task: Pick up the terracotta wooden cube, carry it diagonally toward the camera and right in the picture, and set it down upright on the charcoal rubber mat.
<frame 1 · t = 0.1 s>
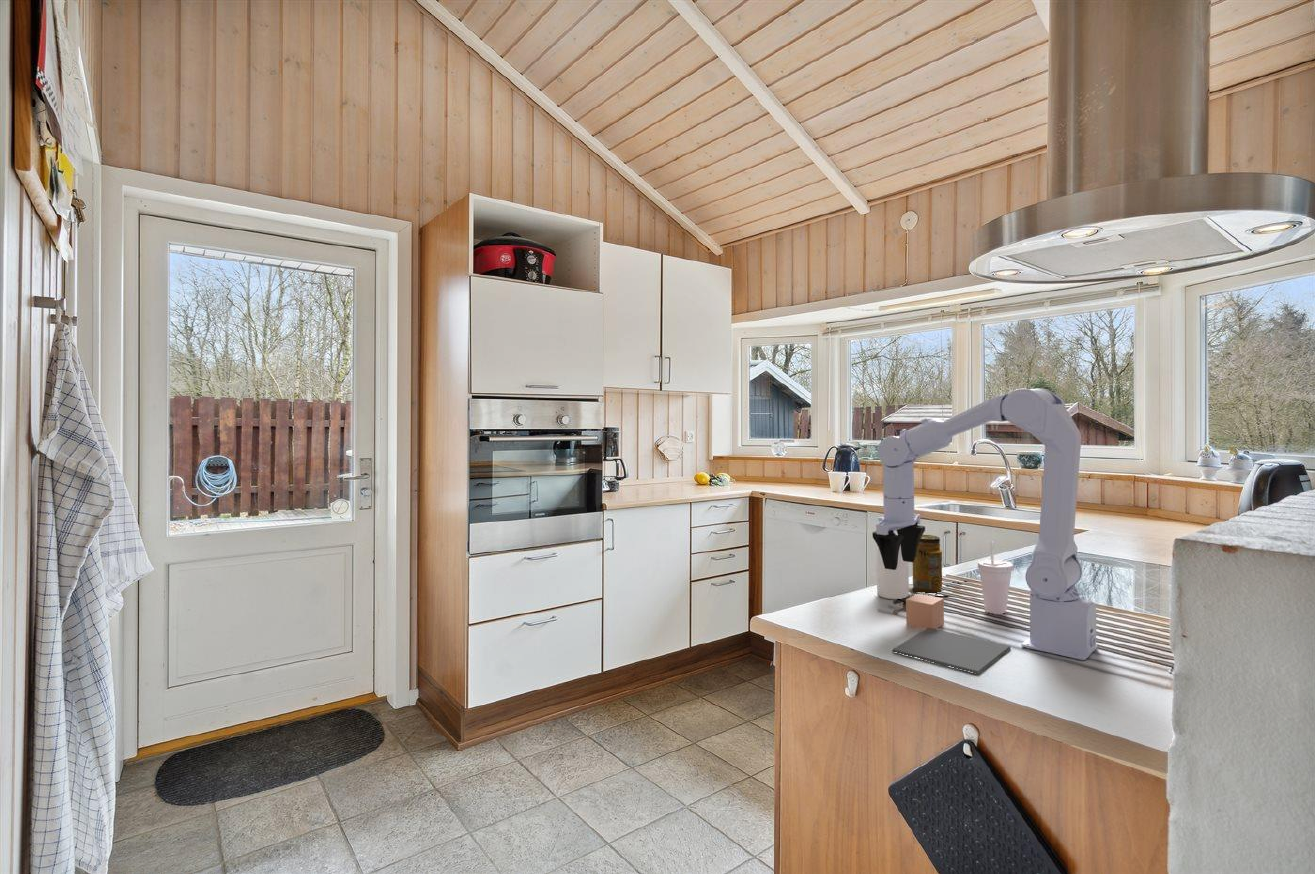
hand: (899, 565, 133), 10 cm above the counter, tool pointing down, fingers open, 7 cm apart
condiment: (927, 592, 149), on the counter
can: (892, 596, 146), on the counter
cube: (925, 624, 127), on the counter
smoothie: (995, 612, 134), on the counter
mat: (951, 650, 114), on the counter
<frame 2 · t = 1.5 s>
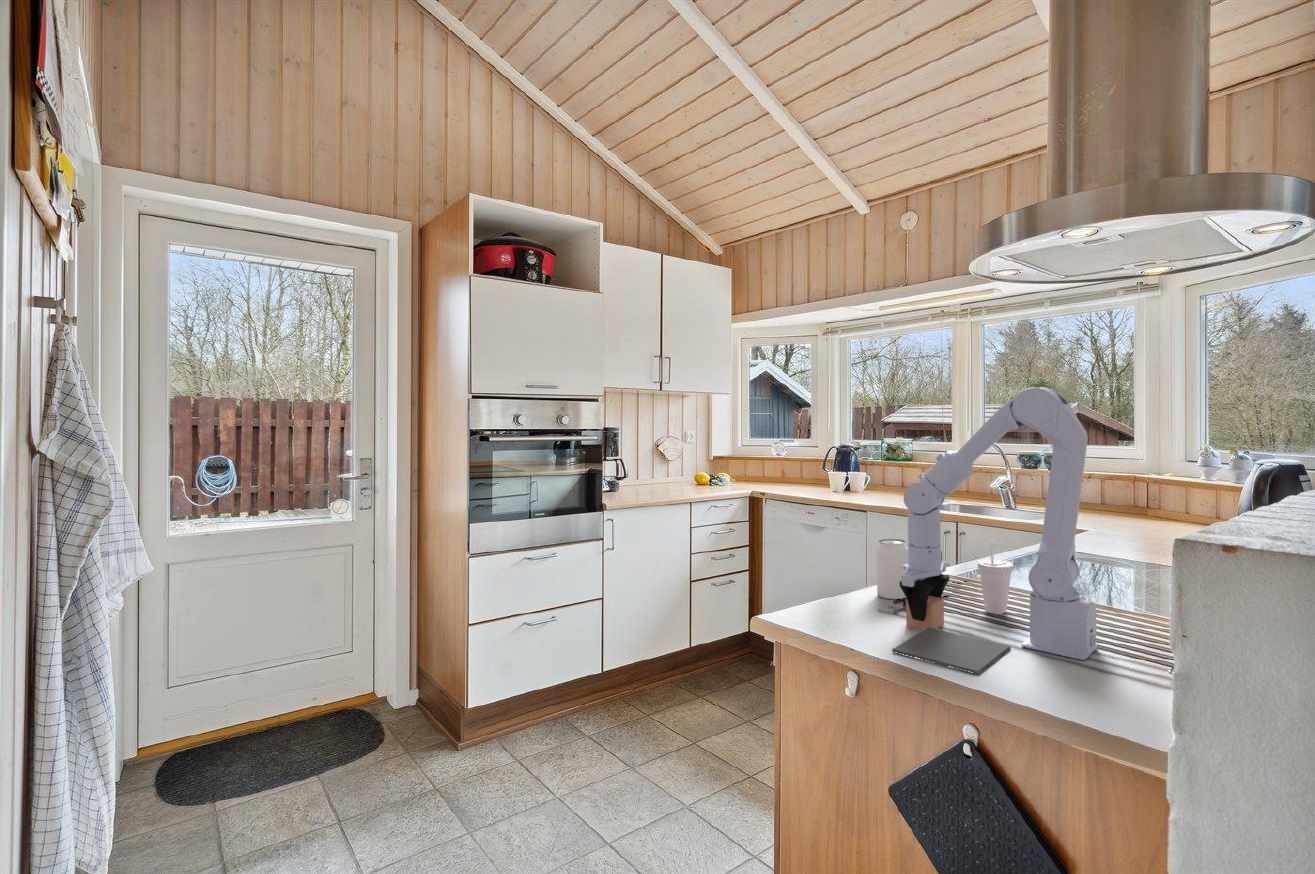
hand: (925, 615, 127), 2 cm above the counter, tool pointing down, fingers closed on cube, 5 cm apart
cube: (925, 624, 127), on the counter, touching gripper
everything else where it was.
when the fingers open (3 cm above the counter, at t = 6.0 s): cube stays where it is, resting on mat.
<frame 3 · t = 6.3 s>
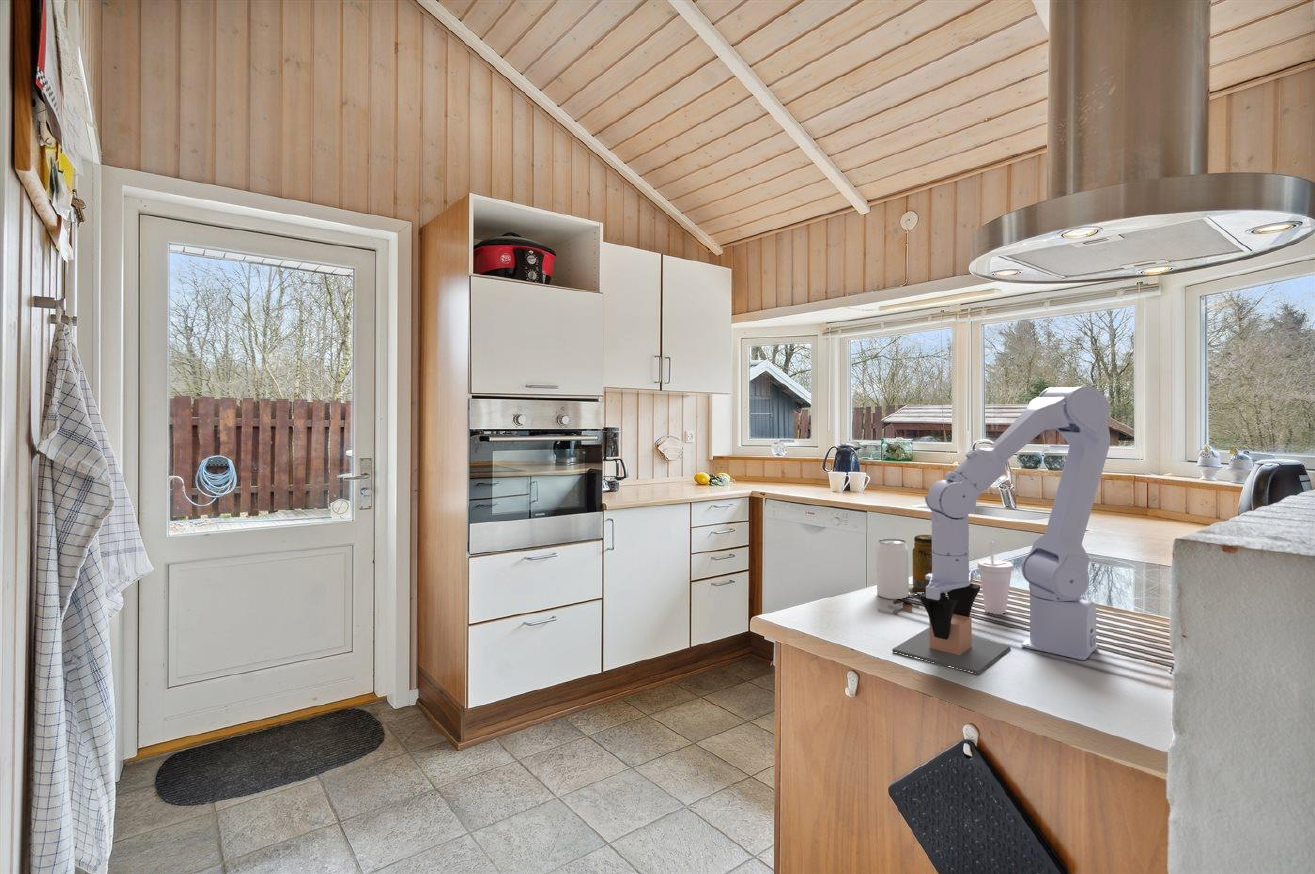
hand: (950, 631, 114), 3 cm above the counter, tool pointing down, fingers open, 7 cm apart
cube: (950, 647, 114), point 1 cm above the counter, touching mat
everything else where it was.
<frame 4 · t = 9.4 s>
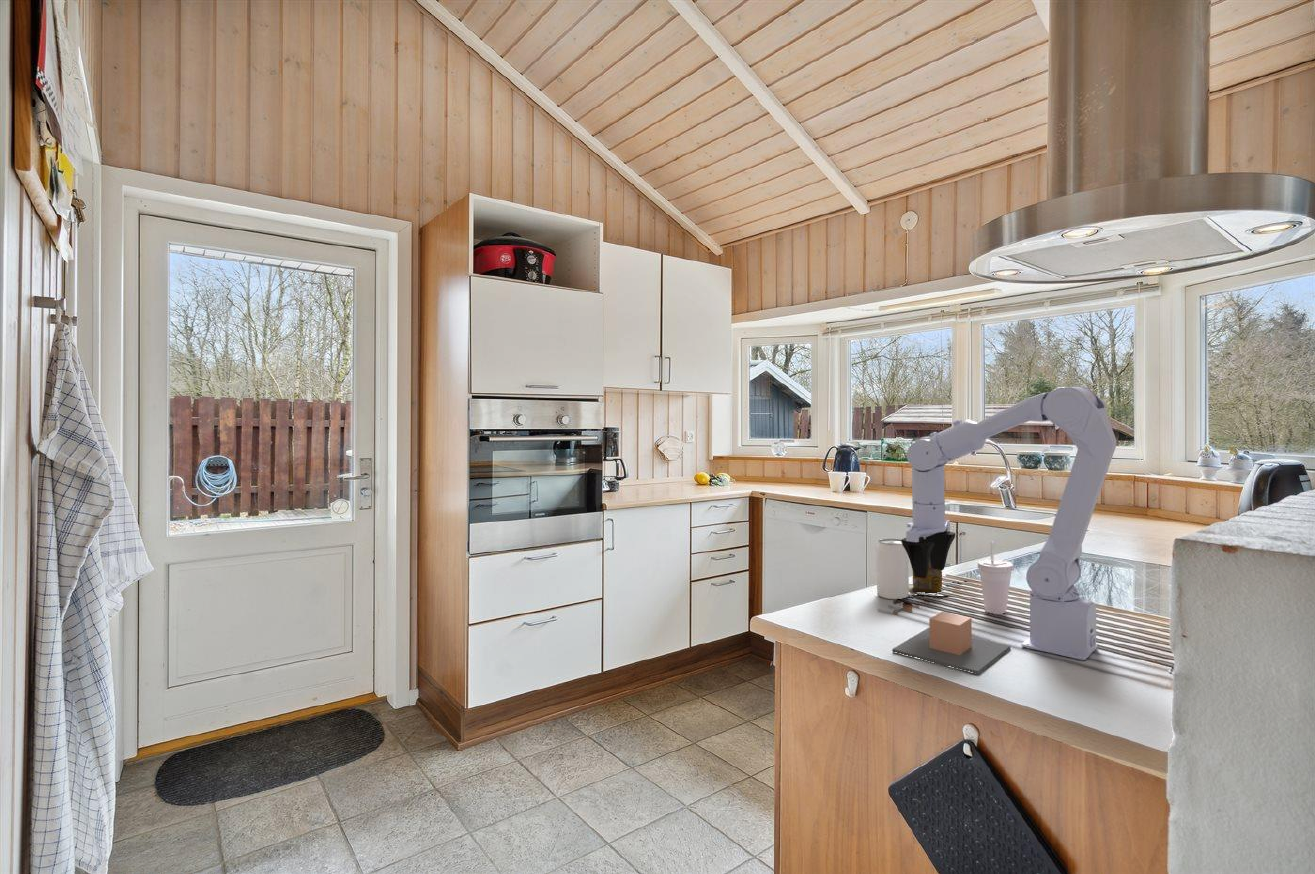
hand: (929, 573, 128), 9 cm above the counter, tool pointing down, fingers open, 7 cm apart
nothing on the counter moved.
at the end: cube inside the target area on the mat (0.1 cm from its centre), point 0.6 cm above the mat's base; cube tilted 0°; the gripper is holding nothing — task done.
